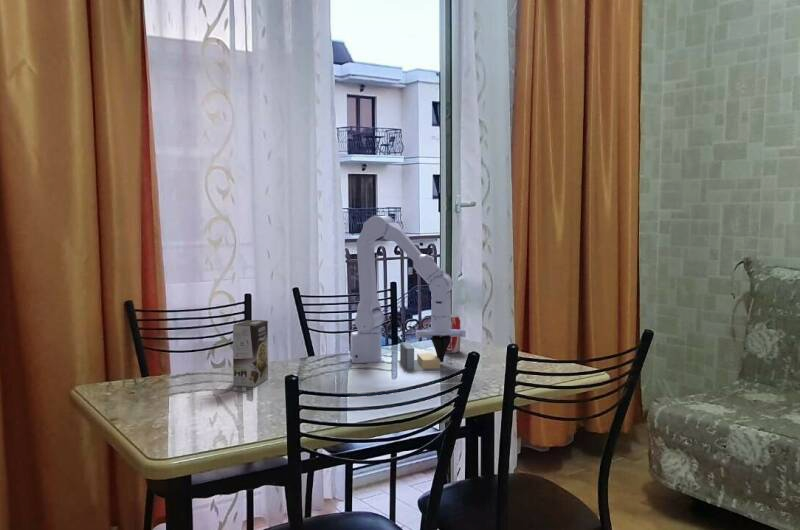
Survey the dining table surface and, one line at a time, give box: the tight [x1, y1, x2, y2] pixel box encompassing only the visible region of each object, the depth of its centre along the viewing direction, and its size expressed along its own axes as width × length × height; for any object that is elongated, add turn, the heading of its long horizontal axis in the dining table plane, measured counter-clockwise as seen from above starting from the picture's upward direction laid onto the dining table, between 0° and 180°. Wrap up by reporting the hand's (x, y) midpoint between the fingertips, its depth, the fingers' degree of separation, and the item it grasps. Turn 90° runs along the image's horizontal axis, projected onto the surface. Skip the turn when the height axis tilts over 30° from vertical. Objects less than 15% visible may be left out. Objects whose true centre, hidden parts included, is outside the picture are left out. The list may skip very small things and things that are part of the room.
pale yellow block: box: [416, 352, 440, 369], centre depth 203 cm, size 5×9×2 cm, turn 9°
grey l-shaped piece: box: [397, 341, 453, 373], centre depth 203 cm, size 14×14×6 cm
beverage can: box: [445, 314, 461, 354], centre depth 222 cm, size 6×6×12 cm
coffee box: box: [232, 319, 269, 388], centre depth 183 cm, size 9×6×16 cm
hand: (440, 361), depth 204 cm, fingers closed
